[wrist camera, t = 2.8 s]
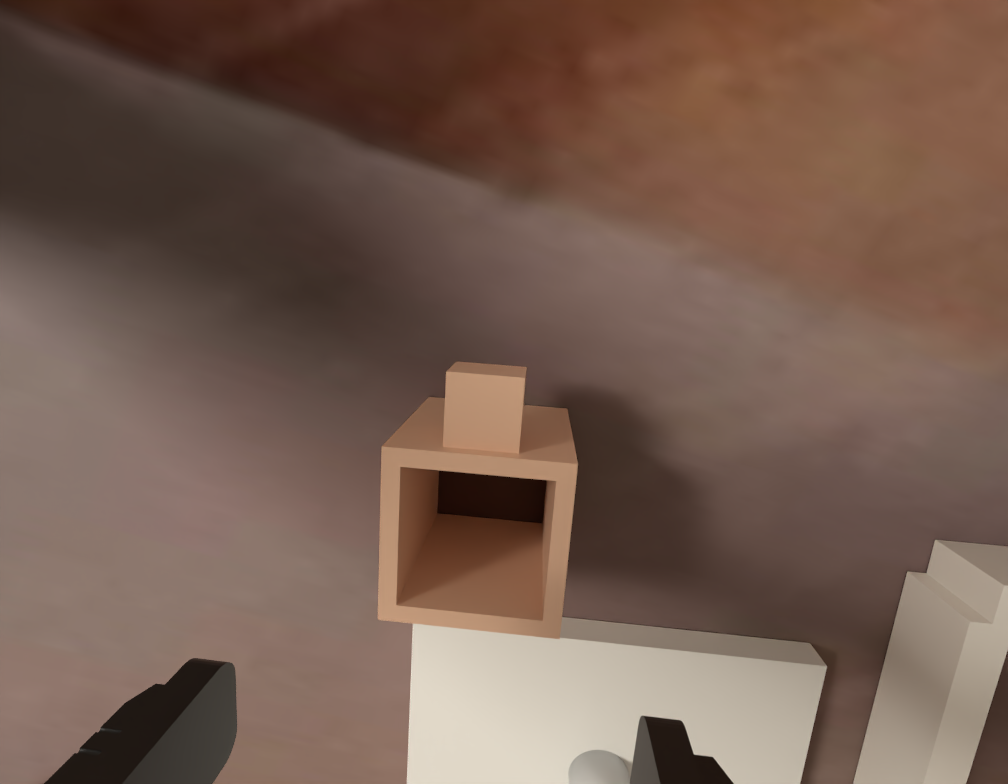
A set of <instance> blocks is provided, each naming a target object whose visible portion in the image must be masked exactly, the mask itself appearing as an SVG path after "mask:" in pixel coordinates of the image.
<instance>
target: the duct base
mask: <svg viewBox="0 0 1008 784" xmlns="http://www.w3.org/2000/svg"><path fill="white" fill-rule="evenodd" d="M826 669H827V666H826V664H825V663H824V661H823V660H822V659H821V657H820V656H819V655H818V653H817V652H816V651H815V649H814V648H813V647H812V645H811V644H810V643H805V642H796V641H786V640H777V639H767V638H758V637H748V636H739V635H729V634H720V633H710V632H701V631H691V630H682V629H672V628H663V627H653V626H644V625H634V624H625V623H615V622H606V621H596V620H587V619H577V618H568V617H562V622H561V632H560V639H553V638H543V637H534V636H525V635H516V634H506V633H497V632H488V631H478V630H469V629H460V628H450V627H441V626H432V625H423V624H413V636H412V663H411V689H410V716H409V742H408V769H407V784H630V777H631V770H632V764H633V757H634V750H635V744H636V737H637V731H638V724H639V720H640V717H641V716H650V717H659V718H667V719H675V720H681V721H682V722H683V724H684V726H685V728H686V731H687V734H688V738H689V741H690V744H691V747H692V750H693V754H694V755H702V756H709V757H713V758H714V759H715V760H716V761H717V763H718V764H719V765H720V767H721V768H722V769H723V770H724V772H725V773H726V774H727V776H728V777H729V778H730V779H731V781H732V782H733V783H734V784H800V782H801V778H802V773H803V769H804V765H805V760H806V756H807V752H808V747H809V743H810V738H811V734H812V730H813V725H814V721H815V717H816V712H817V708H818V704H819V699H820V695H821V691H822V686H823V682H824V678H825V673H826Z"/></svg>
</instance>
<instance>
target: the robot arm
mask: <svg viewBox="0 0 1008 784" xmlns="http://www.w3.org/2000/svg"><path fill="white" fill-rule="evenodd" d="M236 732H237V710H236V678H235V668H234V665H233V664H232V663H230V662H222V661H214V660H206V659H198V658H193V659H191V660H189V661H188V662H186V663H185V664H184V665H183V666H182V667H181V668H180V669H179V671H178V672H177V673H176V674H175V675H174V676H173V677H172V678H171V679H170V680H169V681H168V682H167V683H166V684H165V685H162V684H155V685H153V686H152V687H150V688H148V689H147V690H145V691H144V692H142V693H140V694H139V695H137V696H136V697H134V698H132V699H131V700H129V701H128V702H126V703H125V704H124V705H123V706H122V707H121V708H120V709H119V710H118V711H117V712H116V713H115V714H114V715H113V716H112V717H111V718H110V719H109V720H108V721H107V722H106V723H105V724H104V725H103V726H102V727H101V729H100V731H99V732H98V733H97V732H96V733H95V734H94V735H93V736H92V737H91V738H90V739H89V740H88V741H87V742H86V743H85V744H84V745H83V746H82V747H81V748H80V750H79V752H78V753H77V754H76V753H75V754H74V755H73V756H72V757H71V758H70V759H69V760H68V761H67V762H66V763H65V764H63V765H62V766H61V767H60V768H59V769H58V770H57V771H56V772H55V773H54V774H53V775H52V776H51V777H50V778H49V779H48V780H47V781H46V782H45V783H44V784H212V783H213V782H214V780H215V779H216V777H217V776H218V774H219V773H220V771H221V770H222V768H223V767H224V765H225V764H226V762H227V760H228V758H229V756H230V753H231V751H232V748H233V745H234V742H235V738H236ZM630 784H734V783H733V782H732V781H731V779H730V778H729V777H728V776H727V774H726V773H725V772H724V770H723V769H722V768H721V767H720V765H719V764H718V763H717V761H716V760H715V759H714V758H713V757H709V756H702V755H694V754H693V750H692V747H691V744H690V741H689V738H688V734H687V731H686V728H685V726H684V724H683V722H682V721H681V720H675V719H667V718H659V717H650V716H641V717H640V720H639V724H638V731H637V737H636V744H635V750H634V757H633V764H632V770H631V777H630Z"/></svg>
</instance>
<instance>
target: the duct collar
mask: <svg viewBox="0 0 1008 784" xmlns="http://www.w3.org/2000/svg"><path fill="white" fill-rule="evenodd" d="M526 372H527V367H520V366H507V365H495V364H482V363H470V362H458V361H457V362H455V363H454V364H453V365H452V366H451V367H450V368H449V369H448V370H447V371H446V388H445V398H436V397H428V398H427V399H426V400H425V402H424V403H423V404H422V405H421V406H420V407H419V408H418V409H417V410H416V411H415V412H414V413H413V414H412V415H411V416H410V417H409V418H408V419H407V420H406V421H405V422H404V424H403V425H402V426H401V427H400V428H399V429H398V430H397V431H396V432H395V433H394V434H393V435H392V436H391V437H390V438H389V439H388V440H387V441H386V442H385V443H384V445H383V446H382V451H381V497H380V543H379V588H378V620H385V621H395V622H404V623H413V624H423V625H432V626H441V627H450V628H460V629H469V630H478V631H488V632H497V633H506V634H516V635H525V636H534V637H543V638H553V639H560V632H561V622H562V613H563V603H564V594H565V584H566V575H567V565H568V556H569V546H570V536H571V527H572V517H573V508H574V498H575V489H576V479H577V470H578V461H577V456H576V451H575V446H574V441H573V435H572V430H571V425H570V420H569V415H568V410H567V408H555V407H543V406H531V405H524V397H525V384H526ZM439 470H441V471H451V472H462V473H473V474H484V475H495V476H506V477H517V478H528V479H539V480H547V481H546V492H545V502H544V513H543V523H533V522H522V521H512V520H501V519H491V518H481V517H470V516H460V515H449V514H439V513H437V507H438V486H439Z"/></svg>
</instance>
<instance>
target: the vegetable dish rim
mask: <svg viewBox="0 0 1008 784" xmlns="http://www.w3.org/2000/svg"><path fill="white" fill-rule="evenodd" d="M1007 651H1008V546H998V545H988V544H977V543H966V542H956V541H945V540H935V542H934V546H933V550H932V554H931V558H930V561H929V565H928V569H927V573H919V572H909V571H907V575H906V579H905V583H904V586H903V590H902V594H901V598H900V602H899V606H898V610H897V614H896V618H895V622H894V626H893V629H892V633H891V637H890V641H889V645H888V649H887V653H886V657H885V661H884V665H883V669H882V672H881V676H880V680H879V684H878V688H877V692H876V696H875V700H874V704H873V708H872V712H871V715H870V719H869V723H868V727H867V731H866V735H865V739H864V743H863V747H862V751H861V755H860V758H859V762H858V766H857V770H856V774H855V778H854V782H853V784H966V782H967V779H968V776H969V773H970V770H971V766H972V763H973V760H974V757H975V753H976V750H977V747H978V744H979V741H980V737H981V734H982V731H983V728H984V725H985V721H986V718H987V715H988V712H989V708H990V705H991V702H992V699H993V696H994V692H995V689H996V686H997V683H998V680H999V676H1000V673H1001V670H1002V667H1003V663H1004V660H1005V657H1006V654H1007Z"/></svg>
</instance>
